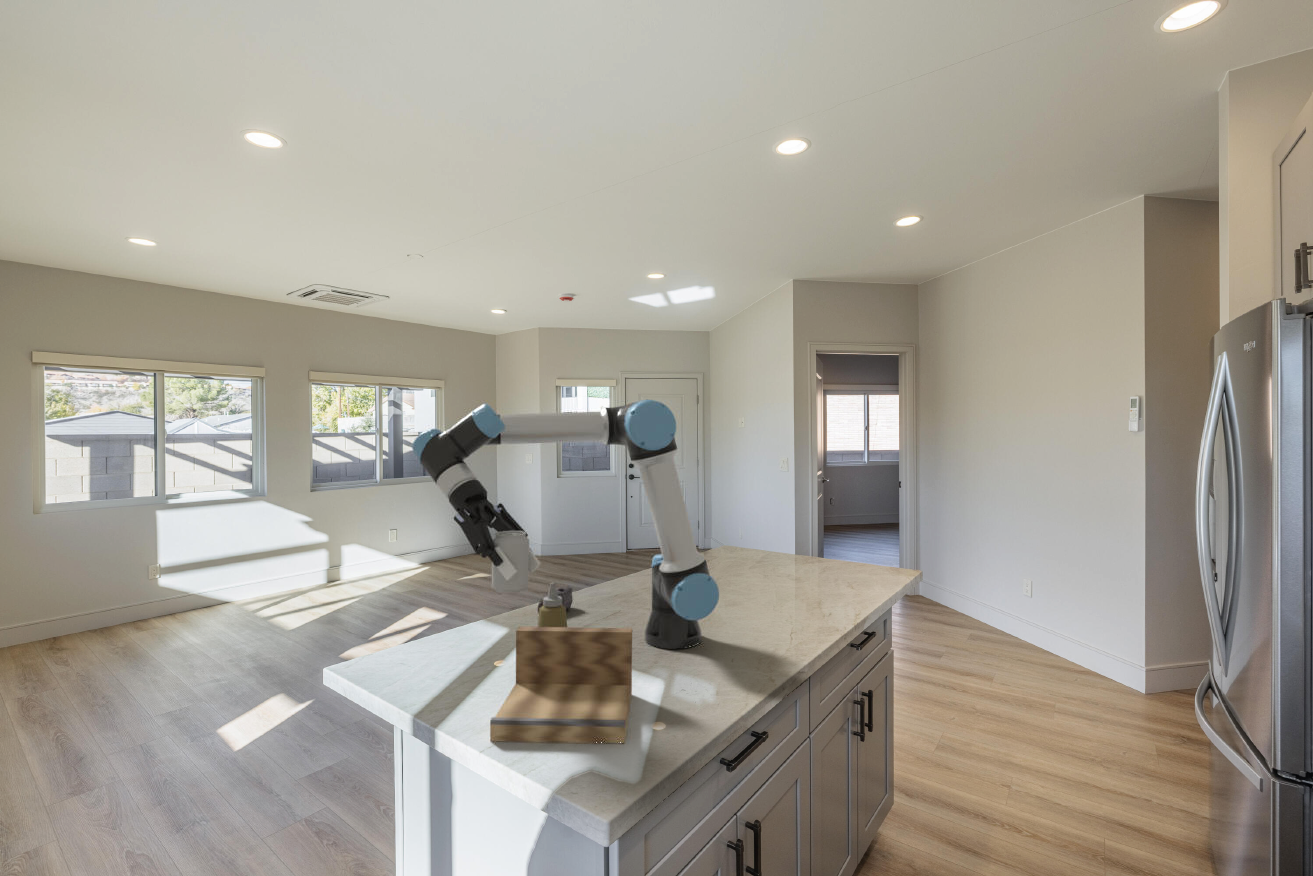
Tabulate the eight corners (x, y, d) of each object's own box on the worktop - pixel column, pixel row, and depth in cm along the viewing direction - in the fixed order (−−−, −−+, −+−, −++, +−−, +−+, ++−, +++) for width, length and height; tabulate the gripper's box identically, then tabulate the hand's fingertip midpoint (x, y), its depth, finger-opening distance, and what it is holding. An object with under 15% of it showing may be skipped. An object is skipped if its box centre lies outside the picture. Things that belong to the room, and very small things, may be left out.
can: (522, 595, 119) (523, 535, 119) (486, 594, 119) (486, 534, 119) (532, 585, 126) (533, 529, 126) (498, 584, 127) (499, 528, 127)
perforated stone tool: (544, 621, 174) (544, 597, 174) (531, 618, 177) (531, 594, 176) (577, 609, 186) (578, 587, 186) (565, 606, 189) (565, 584, 189)
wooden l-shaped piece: (631, 694, 125) (632, 628, 125) (624, 743, 105) (625, 665, 105) (518, 692, 125) (519, 626, 125) (490, 741, 105) (490, 663, 105)
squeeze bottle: (575, 653, 148) (575, 581, 148) (556, 664, 141) (557, 589, 141) (548, 648, 152) (548, 578, 151) (528, 658, 144) (529, 585, 144)
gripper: (484, 496, 138) (541, 573, 132) (417, 506, 119) (481, 595, 113) (503, 475, 136) (562, 551, 130) (438, 481, 117) (503, 570, 111)
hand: (524, 571), depth 121 cm, fingers closed on can, 7 cm apart
